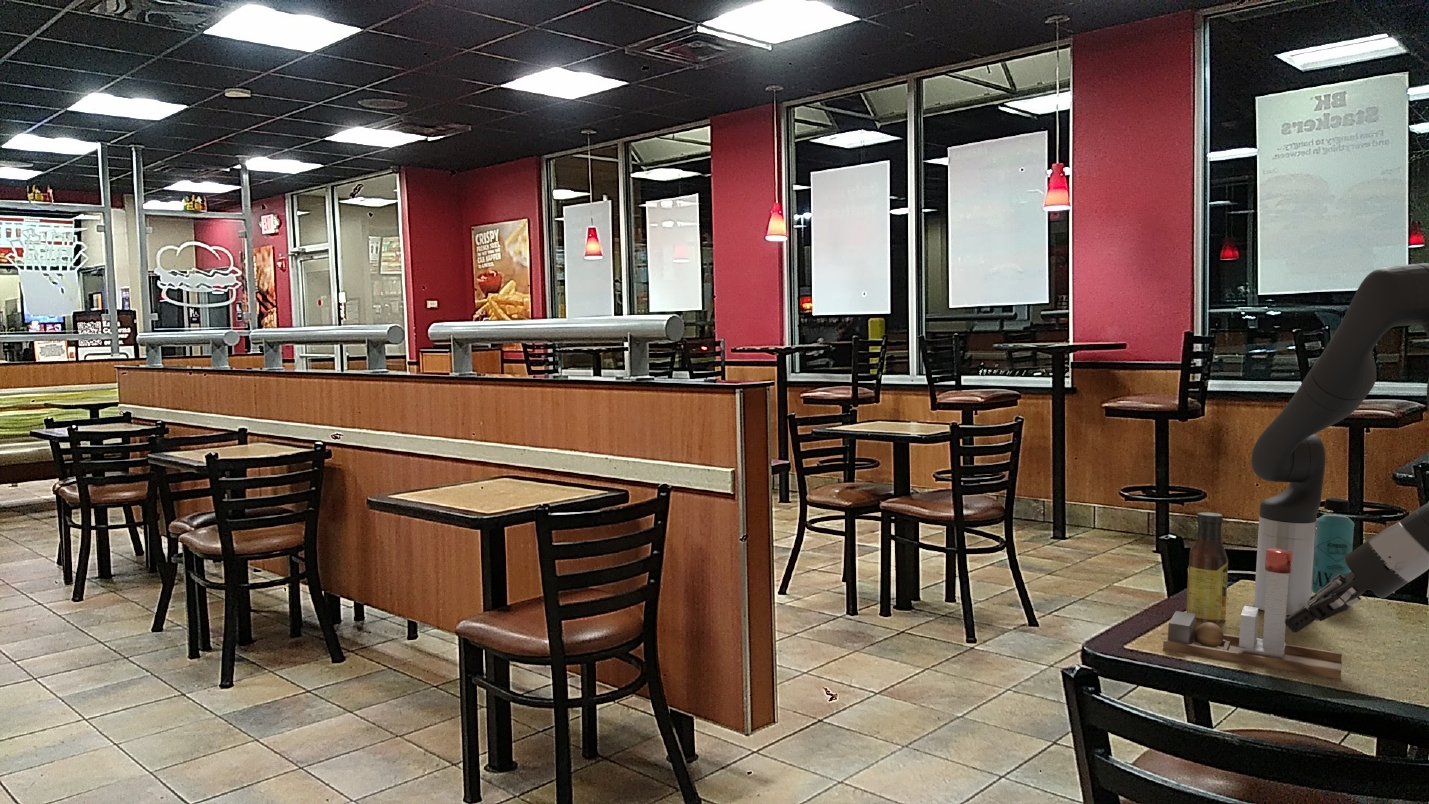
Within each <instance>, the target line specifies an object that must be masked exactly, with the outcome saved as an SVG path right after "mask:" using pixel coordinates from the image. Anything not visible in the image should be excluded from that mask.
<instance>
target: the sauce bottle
mask: <svg viewBox="0 0 1429 804" xmlns="http://www.w3.org/2000/svg"><path fill="white" fill-rule="evenodd" d="M1223 518H1224V516H1223V514H1222V513H1215V512H1208V511H1207V512H1198V513H1197V516H1196V522H1197V534H1196V537H1197V539H1196V541H1195V542H1194V544H1193V545H1192V546H1191V548H1190V550H1189V560H1188V564H1189V565H1187V567H1188V568H1187V595H1186V596H1187V597H1186V600H1187V601H1186V613H1193V614H1196V621H1199V622H1202V623H1206V622H1211V623H1214V624H1216V623H1223V622H1225V620H1226V617H1227V597H1228V596H1227V595H1228V574H1229V573H1228V570H1229V559H1228V555H1227V552H1226V550H1225V545H1224V543H1223V539H1222V524H1223V523H1224V519H1223Z"/></svg>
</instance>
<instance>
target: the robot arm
mask: <svg viewBox="0 0 1429 804" xmlns="http://www.w3.org/2000/svg"><path fill="white" fill-rule="evenodd" d="M1415 325H1416V326H1417V325H1420V326H1421V327H1422V329H1423V330H1424V332H1425V333H1426V335H1427V337H1428V338H1429V263H1427V262H1426V263H1423V262H1422V263H1411V264H1402V265H1389V266H1383V267H1379V268H1376V269H1374V270H1373V271H1371V272H1369V274H1367V275H1366V277H1365V278H1364V279H1363V280H1362V281H1361V282H1360V285H1359V287H1358V288H1357V289H1356V291H1355V294H1354V296H1353V298H1352V300H1351V302H1350V304H1349V306H1348V308H1347V310H1346V312H1345V315H1344V316H1343V318H1342V320H1341V322H1340V323H1339V326H1338V327H1337V329H1336V330H1335V333H1334V334H1333V336H1332V337H1331V338H1330V340H1329V342H1328V344H1327V345H1326V347H1325V348H1324V350H1323V352H1321V355H1320V356H1319V358H1318V359H1316V361H1315V363H1313V365H1312V366H1311V369H1310V370H1309V371H1308V372H1307V374H1306V376H1305V378H1304V379H1303V381H1302V383H1301V384H1300V386H1299V387H1298V389H1297V390H1296V392H1295V393H1294V395H1293V396H1292V397H1291V398H1290V399H1289V401H1288V403H1287V404H1286V405H1285V407H1283V409H1282V411H1280V412H1279V414H1278V415H1277V416H1276V418H1275V419H1274V420H1272V422H1271V423H1270V424H1269V425H1268V426H1267V427H1266V428H1265V430H1263V432H1262V433H1261V434H1260V435H1259V437H1258V438H1257V440H1256V442H1255V444H1254V446H1253V448H1252V453H1251V461H1250V462H1251V468H1252V470H1253V472H1254V474H1255V475H1256V476H1257V477H1258V478H1259V479H1261V480H1263V481H1267V482H1274V483H1289V485H1288V487H1287V488H1286V489H1285V490H1284V491H1282V492H1280V493H1279V494H1276V495H1274V496H1271V497H1268V498H1266V499H1263V500H1262V501H1261V502H1260V505H1259V513H1258V514H1259V515H1258V516H1259V518H1258V536H1257V551H1256V564H1255V565H1256V568H1255V582H1254V585H1255V586H1254V596H1253V597H1254V598H1253V599H1254V600H1253V607H1256V608H1258V610H1261V611H1262V612H1263V611H1264V612H1265V598H1266V582H1267V570H1265V559H1266V549H1282V550H1287V551H1291V552H1293V558H1292V572H1291V573H1289V579H1288V595H1287V610H1286V616H1288V617H1286V621H1285V624H1286V626H1287V627H1288V629H1289V630H1290V631H1291V632H1292V633H1295V634H1296V633H1299V631H1301V630H1303V629H1304V628H1306V627H1307V626H1309V625H1310V624H1312V623H1313V622H1315V621H1319V622H1322V621H1325V620H1328V619H1329V618H1332V617H1333V616H1336V615H1337V614H1340V613H1343V612H1346V611H1347V610H1348V609H1349V608H1350V607H1349V606H1353V605H1355V604H1357V603H1358V602H1359V601H1361V599H1362V598H1361V595H1363V593H1365V592H1366V591H1370V592H1372V593H1373V595H1375V596H1376V597H1379V598H1380V599H1386V598H1387V597H1389V596H1390V595H1391V594H1393V593H1394V592H1396V591H1398V590H1399V589H1401V588H1402V587H1404V586H1405V585H1407V584H1408V583H1410V582H1412V581H1413V580H1415V579H1417V578H1418V577H1419V576H1421V575H1422V574H1424V573H1425V572H1427V571H1428V570H1429V502H1427V503H1425V504H1424V505H1421V506H1420V507H1419V508H1417V509H1415V510H1414V511H1412V512H1411V513H1410V514H1408V515H1406V516H1405V517H1404V518H1401V520H1400V521H1398V522H1396V523H1395V524H1392V525H1390V526H1388V527H1386V528H1384V529H1383V530H1381V531H1380V532H1378V533H1376V534H1375V535H1374V536H1373V537H1370V538H1369V539H1368V540H1366V541H1365V542H1364V543H1362V544H1361V545H1360V546H1358V547H1356V548H1355V549H1352V550H1353V551H1352V552H1350V553H1349V554H1348V555H1346V556H1345V558H1344V561H1345V563H1346V565H1347V566H1348V568H1349V569H1350V570H1351V572H1350V573H1348V574H1346V575H1344V576H1342V575H1341V574H1339V575H1337V576H1336V577H1334V578H1333V579H1332V580H1331V581H1330V582H1329V583H1328V584H1327V585H1325V586H1324V587H1323V588H1321V589H1320V590H1318V591H1317V593H1314V594H1313V595H1312V593H1313V592H1312V581H1313V566H1314V551H1315V539H1316V528H1317V519H1318V518H1317V516H1318V512H1319V509H1320V507H1321V502H1322V493H1323V487H1324V486H1323V484H1324V477H1325V472H1326V471H1325V470H1326V449H1325V445H1324V442H1323V441H1322V439H1321V437H1319V435H1317V433H1319V432H1321V431H1323V430H1325V429H1327V428H1329V427H1331V426H1334V425H1336V424H1337V423H1339V422H1341V421H1343V420H1344V419H1346V418H1348V417H1349V416H1350V415H1352V413H1354V412H1355V411H1356V410H1357V409H1358V408H1359V407H1360V405H1361V404H1362V403H1363V402H1364V401H1365V399H1366V398H1367V396H1368V395H1369V393H1371V391H1372V389H1373V388H1374V386H1375V383H1376V382H1377V381H1376V380H1377V377H1378V376H1377V366H1376V362H1375V358H1374V354H1373V350H1374V349H1375V347H1376V345H1377V344H1378V342H1379V340H1380V339H1381V338H1382V337H1383V336H1384V335H1385V333H1387V332H1388V331H1389V330H1391V329H1392V328H1396V327H1401V326H1402V327H1405V326H1415ZM1426 400H1427V407H1429V378H1428V381H1427V385H1426Z"/></svg>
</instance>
